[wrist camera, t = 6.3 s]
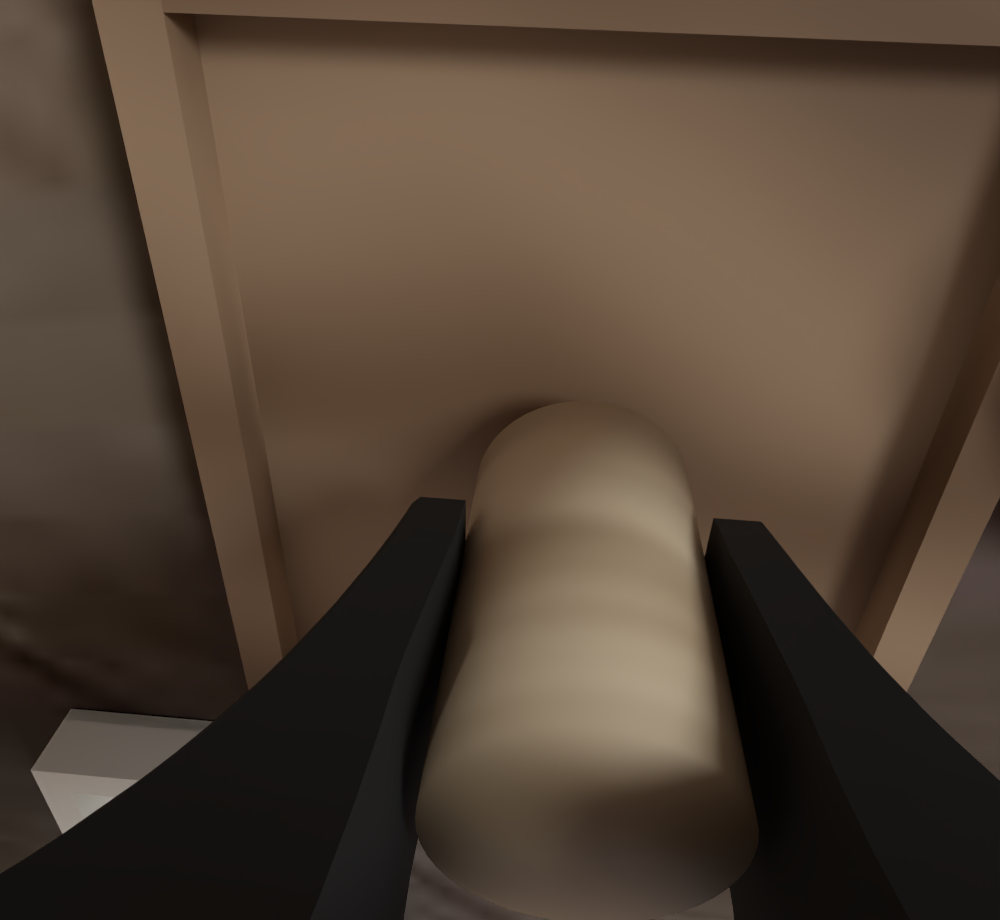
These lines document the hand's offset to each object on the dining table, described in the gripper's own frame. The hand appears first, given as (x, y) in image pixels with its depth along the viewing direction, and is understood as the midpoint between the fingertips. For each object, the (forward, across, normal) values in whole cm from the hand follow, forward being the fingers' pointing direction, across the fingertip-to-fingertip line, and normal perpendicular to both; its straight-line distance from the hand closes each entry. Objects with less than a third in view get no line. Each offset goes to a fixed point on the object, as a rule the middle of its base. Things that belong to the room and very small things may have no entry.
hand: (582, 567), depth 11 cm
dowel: (+2, 0, 0) cm, 2 cm away
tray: (+3, 0, 0) cm, 3 cm away
